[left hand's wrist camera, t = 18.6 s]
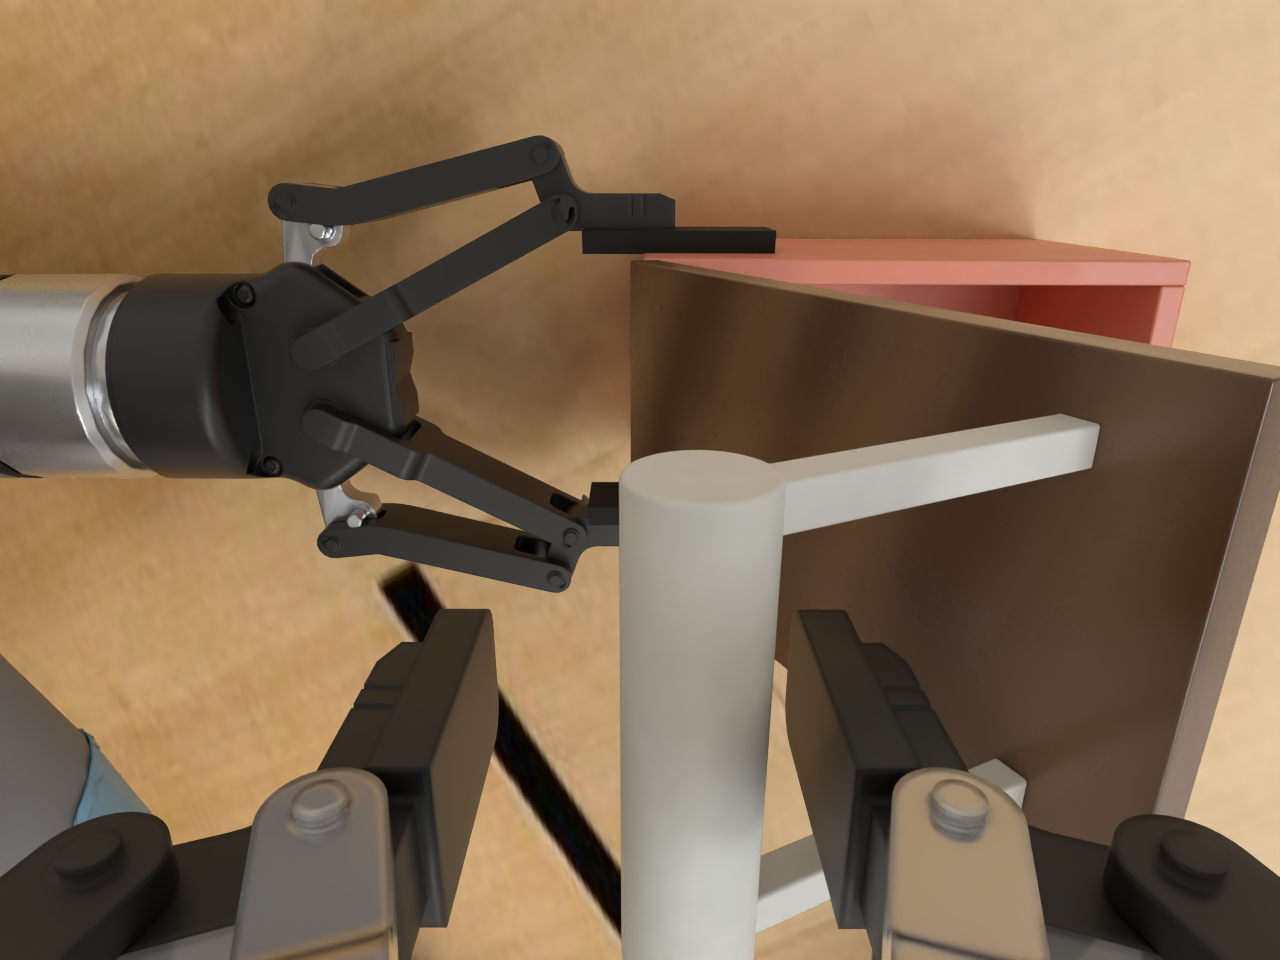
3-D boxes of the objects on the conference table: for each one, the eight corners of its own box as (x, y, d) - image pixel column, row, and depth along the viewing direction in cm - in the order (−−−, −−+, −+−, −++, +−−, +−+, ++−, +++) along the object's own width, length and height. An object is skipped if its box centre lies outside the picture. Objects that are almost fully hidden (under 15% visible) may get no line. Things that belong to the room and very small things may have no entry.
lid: (1316, 371, 10) (752, 468, 7) (1154, 925, 13) (713, 1194, 10) (657, 259, 25) (374, 271, 22) (654, 533, 28) (406, 583, 25)
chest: (1037, 239, 35) (1192, 260, 25) (1004, 442, 39) (1130, 532, 29) (642, 237, 35) (643, 258, 25) (642, 441, 39) (642, 530, 29)
